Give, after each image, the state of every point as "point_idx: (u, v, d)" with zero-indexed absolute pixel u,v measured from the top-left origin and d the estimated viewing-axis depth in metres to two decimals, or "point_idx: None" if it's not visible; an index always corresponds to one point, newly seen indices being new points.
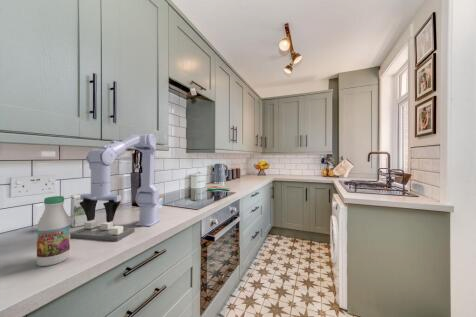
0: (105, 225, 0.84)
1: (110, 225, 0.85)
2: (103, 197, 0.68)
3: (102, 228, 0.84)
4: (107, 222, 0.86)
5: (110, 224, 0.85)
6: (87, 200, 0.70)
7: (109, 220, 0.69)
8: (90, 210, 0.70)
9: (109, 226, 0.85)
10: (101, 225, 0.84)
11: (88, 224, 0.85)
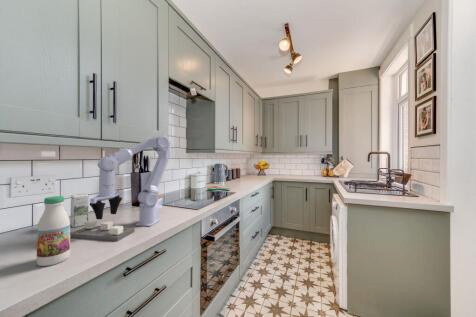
0: (105, 225, 0.84)
1: (110, 225, 0.85)
2: None
3: (102, 228, 0.84)
4: (107, 222, 0.86)
5: (110, 224, 0.85)
6: None
7: (96, 217, 0.82)
8: (112, 206, 0.89)
9: (109, 226, 0.85)
10: (101, 225, 0.84)
11: (88, 224, 0.85)
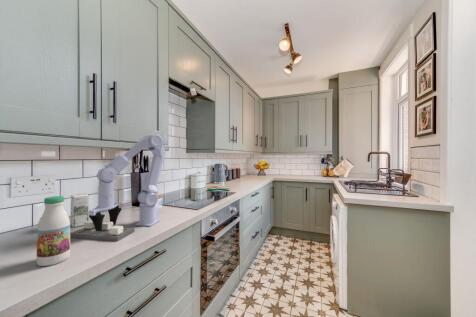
0: (105, 225, 0.84)
1: (110, 225, 0.85)
2: None
3: (102, 228, 0.84)
4: (107, 222, 0.86)
5: (110, 224, 0.85)
6: None
7: (96, 229, 0.81)
8: (112, 216, 0.89)
9: (109, 226, 0.85)
10: None
11: (88, 224, 0.85)
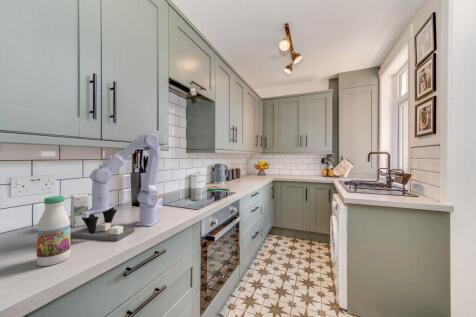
0: (102, 226, 0.83)
1: (107, 226, 0.84)
2: None
3: (99, 229, 0.83)
4: (105, 223, 0.85)
5: (108, 225, 0.84)
6: None
7: (89, 232, 0.78)
8: (106, 218, 0.86)
9: (107, 227, 0.84)
10: (98, 226, 0.83)
11: None
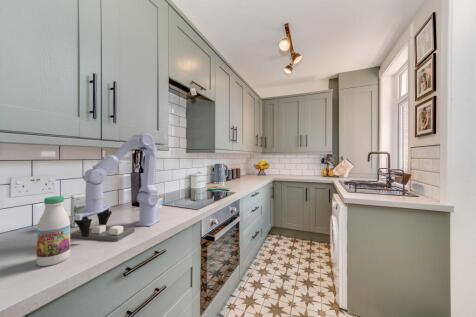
0: (97, 228, 0.80)
1: (102, 229, 0.81)
2: None
3: (94, 232, 0.80)
4: (99, 225, 0.82)
5: (102, 227, 0.81)
6: None
7: (82, 235, 0.75)
8: (101, 220, 0.83)
9: (101, 229, 0.81)
10: (93, 228, 0.80)
11: None
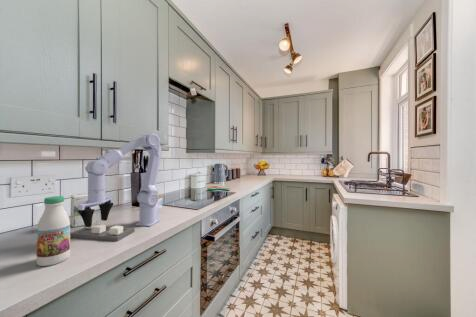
0: (97, 228, 0.80)
1: (102, 229, 0.81)
2: None
3: (94, 232, 0.80)
4: (99, 225, 0.82)
5: (102, 227, 0.81)
6: None
7: (85, 225, 0.76)
8: (103, 211, 0.84)
9: (101, 229, 0.81)
10: (93, 228, 0.80)
11: None
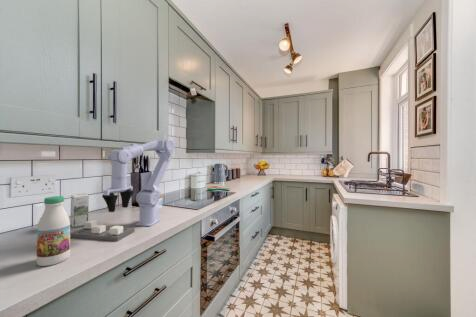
0: (97, 228, 0.80)
1: (102, 229, 0.81)
2: None
3: (94, 232, 0.80)
4: (99, 225, 0.82)
5: (102, 227, 0.81)
6: None
7: (109, 210, 0.80)
8: (124, 199, 0.88)
9: (101, 229, 0.81)
10: (93, 228, 0.80)
11: (88, 224, 0.85)
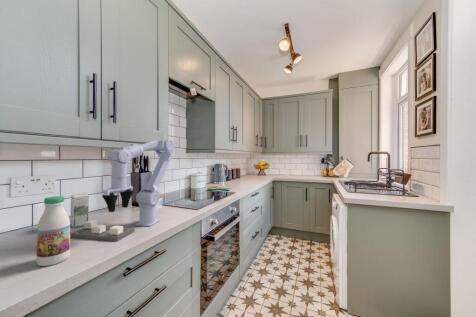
0: (97, 228, 0.80)
1: (102, 229, 0.81)
2: None
3: (94, 232, 0.80)
4: (99, 225, 0.82)
5: (102, 227, 0.81)
6: None
7: (109, 210, 0.80)
8: (124, 199, 0.88)
9: (101, 229, 0.81)
10: (93, 228, 0.80)
11: (88, 224, 0.85)
